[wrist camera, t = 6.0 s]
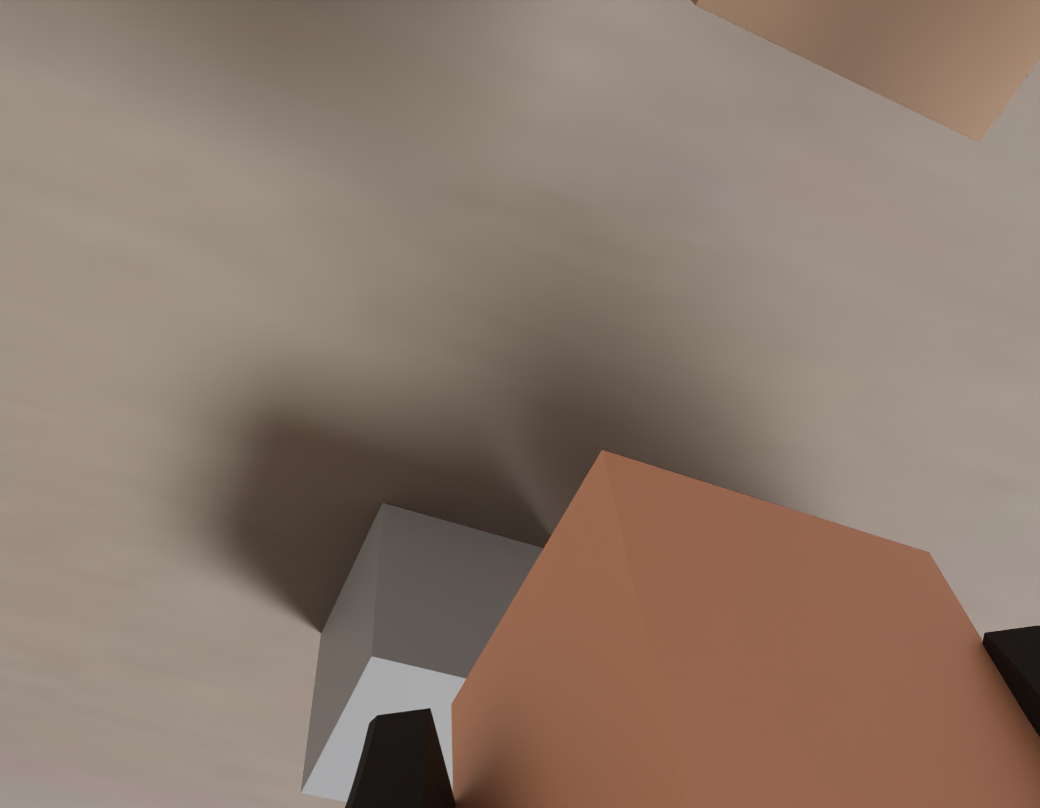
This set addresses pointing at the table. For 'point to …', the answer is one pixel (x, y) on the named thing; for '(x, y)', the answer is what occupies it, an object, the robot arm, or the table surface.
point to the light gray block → (405, 634)
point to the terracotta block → (733, 666)
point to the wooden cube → (909, 48)
